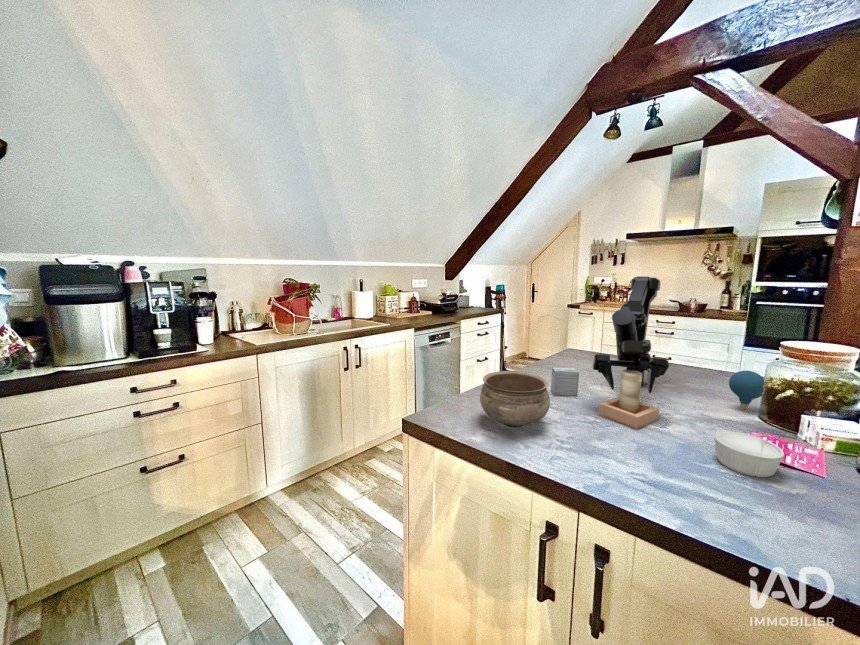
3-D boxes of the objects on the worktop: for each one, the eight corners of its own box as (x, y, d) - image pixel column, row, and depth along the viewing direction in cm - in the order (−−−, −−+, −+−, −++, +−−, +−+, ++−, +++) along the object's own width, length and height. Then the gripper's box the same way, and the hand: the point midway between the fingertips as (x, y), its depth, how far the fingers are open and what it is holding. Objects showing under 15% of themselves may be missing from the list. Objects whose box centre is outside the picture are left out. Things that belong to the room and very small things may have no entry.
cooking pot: (492, 401, 113) (493, 364, 111) (554, 411, 105) (556, 372, 103) (466, 434, 91) (466, 390, 89) (541, 450, 83) (544, 402, 81)
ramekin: (795, 484, 70) (799, 460, 69) (731, 478, 72) (735, 454, 71) (755, 454, 81) (759, 433, 80) (701, 449, 83) (704, 429, 82)
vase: (624, 410, 104) (628, 368, 102) (641, 417, 99) (646, 373, 97) (614, 414, 101) (618, 371, 99) (631, 421, 97) (635, 376, 95)
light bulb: (753, 405, 108) (759, 368, 106) (769, 417, 100) (775, 376, 98) (720, 402, 110) (725, 366, 108) (733, 413, 103) (739, 374, 101)
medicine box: (573, 391, 121) (575, 367, 119) (577, 396, 116) (579, 371, 115) (550, 391, 122) (551, 367, 120) (553, 395, 117) (554, 371, 116)
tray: (620, 406, 108) (621, 396, 107) (658, 420, 98) (659, 408, 98) (598, 414, 102) (599, 403, 102) (636, 429, 93) (637, 417, 92)
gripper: (596, 327, 103) (598, 374, 94) (670, 330, 97) (679, 381, 88) (592, 347, 112) (593, 391, 103) (659, 351, 105) (666, 399, 97)
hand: (631, 390), depth 98 cm, fingers open, 9 cm apart
